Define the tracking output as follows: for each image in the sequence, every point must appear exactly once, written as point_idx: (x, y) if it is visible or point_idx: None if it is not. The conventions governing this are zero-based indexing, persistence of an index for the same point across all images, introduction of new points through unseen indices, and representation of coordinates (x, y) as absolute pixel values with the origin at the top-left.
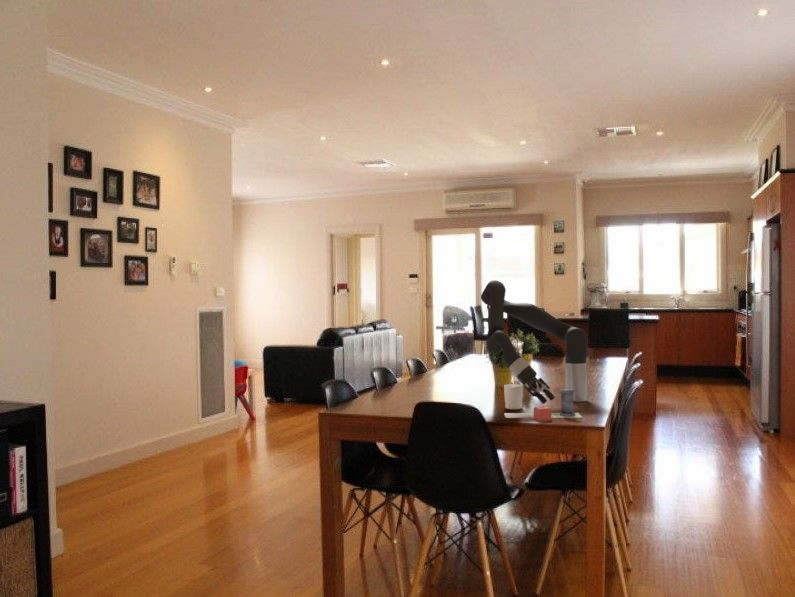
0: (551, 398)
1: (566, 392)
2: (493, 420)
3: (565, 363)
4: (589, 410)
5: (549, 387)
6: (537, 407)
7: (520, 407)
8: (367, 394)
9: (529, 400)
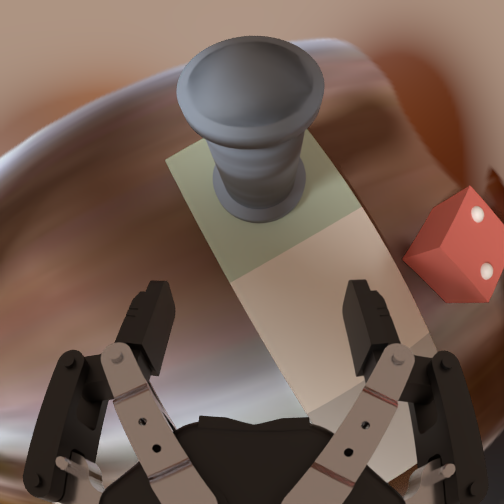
0: (169, 308)
1: (315, 73)
2: (493, 434)
3: None
4: (73, 160)
5: (71, 355)
6: (492, 271)
7: None
8: None
9: (11, 458)
